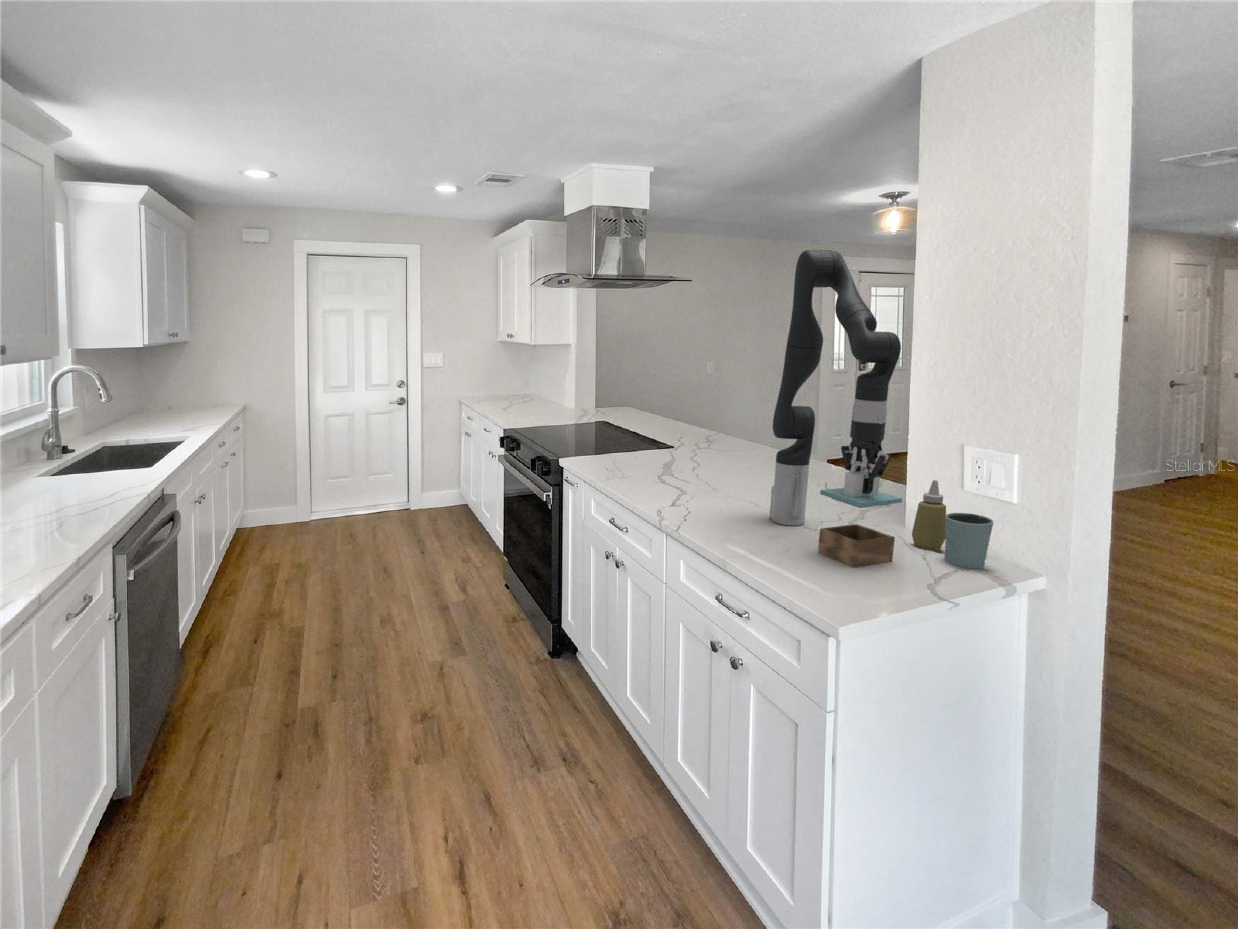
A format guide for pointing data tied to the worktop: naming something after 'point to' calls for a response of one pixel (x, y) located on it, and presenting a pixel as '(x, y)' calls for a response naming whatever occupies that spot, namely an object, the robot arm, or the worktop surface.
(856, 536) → the walnut box
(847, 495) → the lid
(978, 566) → the grey-blue cup
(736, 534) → the worktop surface
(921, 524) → the squeeze bottle
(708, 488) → the worktop surface
